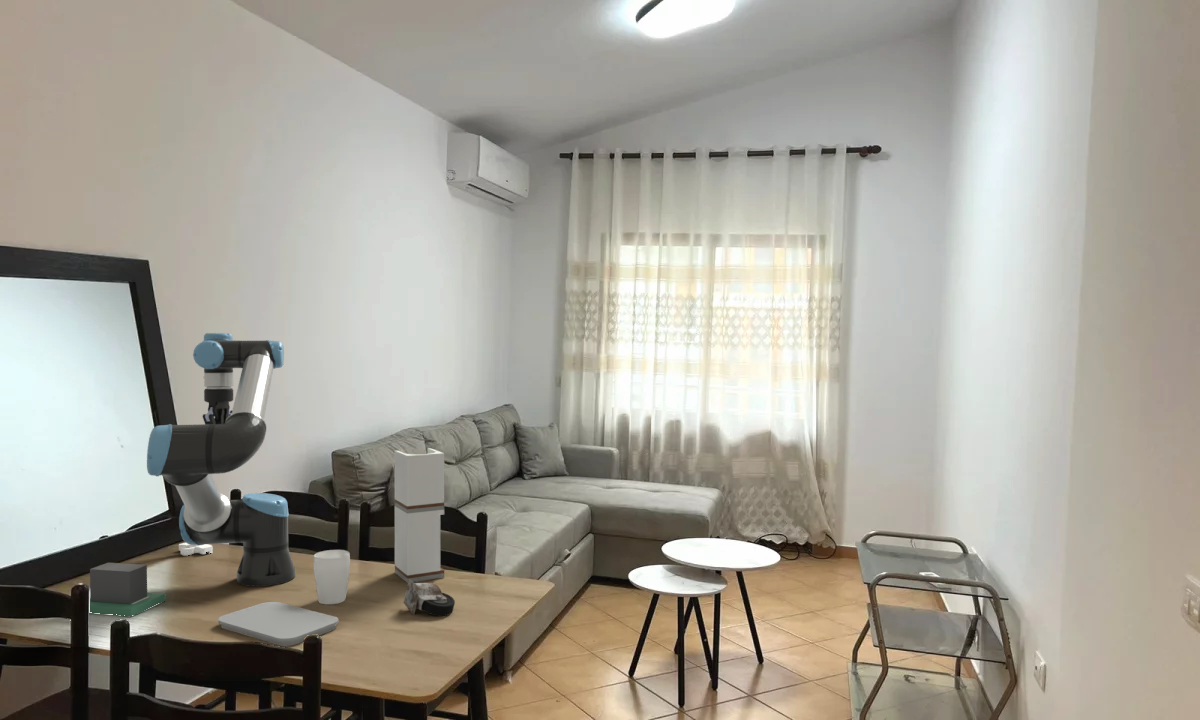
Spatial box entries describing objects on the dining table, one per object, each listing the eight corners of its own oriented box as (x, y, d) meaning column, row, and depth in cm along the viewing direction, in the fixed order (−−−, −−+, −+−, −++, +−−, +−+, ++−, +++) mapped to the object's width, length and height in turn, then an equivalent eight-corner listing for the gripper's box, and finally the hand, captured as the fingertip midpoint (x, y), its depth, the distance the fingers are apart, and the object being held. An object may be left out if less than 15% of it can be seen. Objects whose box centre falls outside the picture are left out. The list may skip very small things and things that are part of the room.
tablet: (286, 650, 186) (286, 640, 186) (212, 628, 200) (212, 618, 200) (344, 628, 200) (344, 619, 200) (271, 609, 214) (271, 600, 214)
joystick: (215, 552, 265) (215, 488, 264) (195, 558, 258) (194, 492, 258) (190, 548, 270) (189, 485, 269) (169, 553, 263) (168, 489, 262)
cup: (339, 592, 226) (339, 547, 225) (357, 600, 219) (356, 554, 219) (307, 600, 219) (307, 554, 219) (323, 608, 213) (323, 561, 213)
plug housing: (147, 596, 215) (146, 565, 215) (130, 604, 209) (129, 571, 209) (108, 593, 217) (108, 562, 217) (90, 601, 211) (89, 569, 211)
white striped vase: (444, 577, 240) (444, 453, 239) (407, 582, 235) (407, 455, 234) (430, 567, 250) (430, 448, 249) (394, 572, 245) (394, 450, 244)
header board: (165, 601, 218) (164, 577, 218) (131, 617, 206) (131, 591, 206) (109, 597, 221) (109, 574, 220) (73, 612, 209) (72, 587, 209)
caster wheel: (456, 623, 211) (418, 625, 205) (437, 601, 220) (401, 603, 214) (462, 597, 210) (425, 599, 204) (443, 577, 219) (407, 578, 213)
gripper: (218, 386, 248) (219, 467, 249) (192, 389, 235) (193, 474, 236) (243, 386, 247) (243, 467, 248) (219, 389, 234) (219, 475, 235)
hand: (219, 471), depth 242 cm, fingers closed
